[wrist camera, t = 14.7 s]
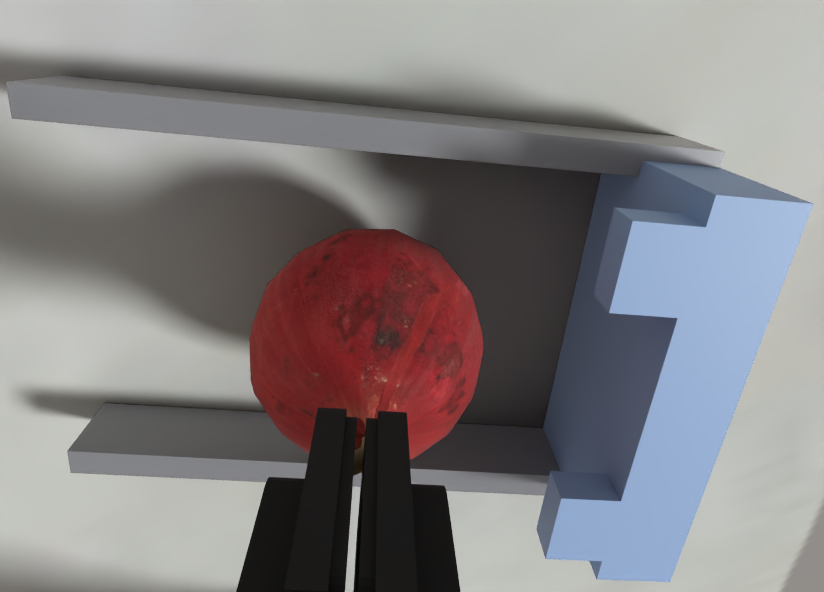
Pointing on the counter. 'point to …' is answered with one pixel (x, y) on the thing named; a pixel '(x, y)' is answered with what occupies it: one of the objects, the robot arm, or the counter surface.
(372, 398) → the pomegranate
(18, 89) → the grey parallel strips
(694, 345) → the blue bracket
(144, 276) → the counter surface
